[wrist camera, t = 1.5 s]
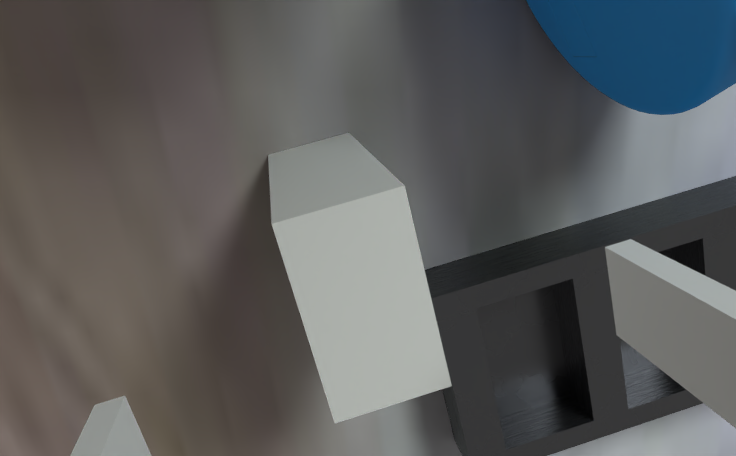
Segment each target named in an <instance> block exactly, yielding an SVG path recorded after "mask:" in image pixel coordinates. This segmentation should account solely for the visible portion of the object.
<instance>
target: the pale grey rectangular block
mask: <svg viewBox="0 0 736 456" xmlns="http://www.w3.org/2000/svg"><path fill="white" fill-rule="evenodd" d="M268 163H269V183H270V203H271V223H272V227H273V230H274V233H275V236H276V240H277V243H278V246H279V249H280V252H281V255H282V258H283V262H284V265H285V268H286V271H287V274H288V277H289V281H290V284H291V287H292V290H293V293H294V296H295V300H296V303H297V306H298V309H299V312H300V315H301V318H302V322H303V325H304V328H305V331H306V334H307V337H308V341H309V344H310V347H311V350H312V353H313V356H314V360H315V363H316V366H317V369H318V372H319V375H320V378H321V382H322V385H323V388H324V391H325V394H326V397H327V401H328V404H329V407H330V410H331V413H332V416H333V420H334V423H338V422H341V421H344V420H347V419H351V418H354V417H357V416H360V415H363V414H366V413H369V412H372V411H376V410H379V409H382V408H385V407H388V406H391V405H394V404H397V403H401V402H404V401H407V400H410V399H413V398H416V397H419V396H422V395H426V394H429V393H432V392H435V391H438V390H441V389H444V388H447V387H451V386H452V385H451V380H450V376H449V372H448V368H447V363H446V359H445V355H444V351H443V346H442V342H441V338H440V334H439V329H438V325H437V321H436V317H435V312H434V308H433V304H432V300H431V295H430V291H429V287H428V283H427V278H426V274H425V270H424V266H423V261H422V257H421V253H420V249H419V244H418V240H417V236H416V232H415V227H414V223H413V219H412V215H411V210H410V206H409V202H408V198H407V193H406V189H405V185H404V184H402V183H401V182H400V181H399V180H398V179H397V178H396V177H395V176H394V175H393V174H392V173H391V172H390V171H389V170H388V169H387V168H386V167H385V166H384V165H382V164H381V163H380V162H379V161H378V160H377V159H376V158H375V157H374V156H373V155H372V154H371V153H370V152H369V151H368V150H367V149H366V148H365V147H364V146H363V145H361V144H360V143H359V142H358V141H357V140H356V139H355V138H354V137H353V136H352V135H351V134H350V133H349V132H348V133H345V134H341V135H337V136H334V137H330V138H327V139H323V140H319V141H316V142H312V143H309V144H305V145H301V146H298V147H294V148H291V149H287V150H283V151H280V152H276V153H273V154H269V155H268Z"/></svg>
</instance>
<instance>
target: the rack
mask: <svg viewBox="0 0 736 456" xmlns="http://www.w3.org/2000/svg"><path fill="white" fill-rule="evenodd" d="M629 239H632V240H634V241H636V242H638V243H640V244H642V245H644V246H646V247H648V248H650V249H652V250H654V251H656V252H658V253H660V254H662V255H664V256H666V257H668V258H670V259H672V260H674V261H676V262H678V263H680V264H682V265H684V266H686V267H688V268H691V269H693V270H695V271H697V272H699V273H701V274H703V275H705V276H707V277H709V278H711V279H713V280H715V281H717V282H719V283H721V284H723V285H725V286H727V287H729V288H731V289H733V290H735V291H736V176H735V177H731V178H728V179H725V180H722V181H718V182H715V183H712V184H708V185H705V186H702V187H698V188H695V189H692V190H688V191H685V192H682V193H678V194H675V195H672V196H669V197H665V198H662V199H659V200H655V201H652V202H649V203H645V204H642V205H639V206H635V207H632V208H629V209H626V210H622V211H619V212H616V213H612V214H609V215H606V216H602V217H599V218H596V219H592V220H589V221H586V222H582V223H579V224H576V225H573V226H569V227H566V228H563V229H559V230H556V231H553V232H549V233H546V234H543V235H539V236H536V237H533V238H530V239H526V240H523V241H520V242H516V243H513V244H510V245H506V246H503V247H500V248H496V249H493V250H490V251H486V252H483V253H480V254H477V255H473V256H470V257H467V258H463V259H460V260H457V261H453V262H450V263H447V264H443V265H440V266H437V267H433V268H430V269H427V270H425V274H426V278H427V283H428V287H429V291H430V295H431V300H432V304H433V308H434V312H435V317H436V321H437V325H438V329H439V334H440V338H441V342H442V346H443V351H444V355H445V359H446V363H447V368H448V372H449V376H450V380H451V385H452V386H451V387H447V388H444V389H443V393H444V397H445V401H446V405H447V410H448V414H449V418H450V422H451V426H452V430H453V434H454V439H455V442H456V444H457V446H458V448H459V450H460V452H461V454H462V456H547V455H550V454H553V453H556V452H559V451H562V450H565V449H568V448H571V447H574V446H577V445H580V444H583V443H586V442H589V441H592V440H595V439H598V438H601V437H604V436H607V435H610V434H613V433H616V432H619V431H621V430H624V429H627V428H630V427H633V426H636V425H639V424H642V423H645V422H648V421H651V420H654V419H657V418H660V417H663V416H666V415H669V414H672V413H675V412H678V411H681V410H684V409H687V408H690V407H693V406H696V405H699V404H702V403H703V402H702V401H700V400H699V399H698V398H696V397H695V396H694V395H693V394H691V393H690V392H689V391H687V390H686V389H685V388H684V387H682V386H681V385H680V384H679V383H677V382H676V381H675V380H673V379H672V378H671V377H670V376H668V375H667V374H666V373H664V372H663V371H662V370H661V369H659V368H658V367H657V366H656V365H654V364H653V363H652V362H650V361H649V360H648V359H647V358H645V357H644V356H643V355H641V354H640V353H639V352H638V351H636V350H635V349H634V348H632V347H631V346H630V345H629V344H627V343H626V342H625V341H624V340H622V339H621V338H620V337H618V336H617V335H616V327H615V320H614V312H613V305H612V297H611V290H610V282H609V275H608V267H607V260H606V252H605V247H607V246H610V245H613V244H616V243H620V242H623V241H626V240H629Z"/></svg>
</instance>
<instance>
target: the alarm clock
mask: <svg viewBox="0 0 736 456" xmlns="http://www.w3.org/2000/svg"><path fill="white" fill-rule="evenodd" d="M526 1H527V3H528V5H529V7H530V9H531V10H532V12H533V14H534V16H535V17H536V19H537V21H538V22H539V24H540V25H541V27H542V29H543V30H544V31H545V33H546V34H547V36H548V37H549V39H550V40H551V42H552V43H553V44H554V46H555V47H556V48H557V49H558V51H559V52H560V53H561V54H562V56H563V57H564V58H565V59H566V60H567V61H568V62H569V64H570V65H571V66H572V67H573V68H574V69H575V70H576V71H577V72H578V73H579V74H580V75H581V76H582V77H583V78H584V79H586V80H587V81H588V82H589V83H590V84H591V85H593V86H594V87H595V88H596V89H598V90H599V91H600V92H602V93H603V94H605V95H606V96H608V97H609V98H611V99H613V100H615V101H616V102H618V103H620V104H622V105H624V106H626V107H629V108H631V109H634V110H637V111H640V112H644V113H649V114H659V115H667V114H677V113H681V112H685V111H687V110H690V109H692V108H695V107H697V106H699V105H701V104H702V103H704V102H706V101H707V100H709V99H711V98H712V97H714V96H715V95H717V94H719V93H720V92H722V91H724V90H725V89H727V88H728V87H730V86H732V85H733V84H735V83H736V0H526Z"/></svg>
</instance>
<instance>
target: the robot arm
mask: <svg viewBox="0 0 736 456" xmlns="http://www.w3.org/2000/svg"><path fill="white" fill-rule="evenodd" d="M605 252H606V260H607V267H608V275H609V282H610V290H611V297H612V305H613V312H614V320H615V327H616V335H617V336H618V337H620V338H621V339H622V340H624V341H625V342H626V343H627V344H629V345H630V346H631V347H632V348H634V349H635V350H636V351H638V352H639V353H640V354H641V355H643V356H644V357H645V358H647V359H648V360H649V361H650V362H652V363H653V364H654V365H656V366H657V367H658V368H659V369H661V370H662V371H663V372H664V373H666V374H667V375H668V376H670V377H671V378H672V379H673V380H675V381H676V382H677V383H679V384H680V385H681V386H682V387H684V388H685V389H686V390H687V391H689V392H690V393H691V394H693V395H694V396H695V397H696V398H698V399H699V400H700V401H702V402H703V403H704V404H705V405H707V406H708V407H709V408H711V409H712V410H713V411H714V412H716V413H717V414H718V415H719V416H721V417H722V418H723V419H725V420H726V421H727V422H728V423H730V424H731V425H732V426H734V427H735V428H736V291H735V290H733V289H731V288H729V287H727V286H725V285H723V284H721V283H719V282H717V281H715V280H713V279H711V278H709V277H707V276H705V275H703V274H701V273H699V272H697V271H695V270H693V269H691V268H688V267H686V266H684V265H682V264H680V263H678V262H676V261H674V260H672V259H670V258H668V257H666V256H664V255H662V254H660V253H658V252H656V251H654V250H652V249H650V248H648V247H646V246H644V245H642V244H640V243H638V242H636V241H634V240H632V239H629V240H626V241H623V242H620V243H616V244H613V245H610V246H607V247H605ZM70 456H151V453H150V451H149V449H148V447H147V444H146V442H145V440H144V438H143V435H142V433H141V431H140V428H139V426H138V424H137V422H136V419H135V417H134V415H133V413H132V410H131V408H130V406H129V403H128V401H127V399H126V397H125V396H122V397H119V398H115V399H112V400H109V401H106V402H102V403H99V404H96V405H94V407H93V409H92V412H91V414H90V416H89V418H88V420H87V422H86V424H85V426H84V428H83V430H82V432H81V434H80V437H79V439H78V441H77V443H76V445H75V447H74V449H73V451H72V453H71V455H70Z"/></svg>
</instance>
